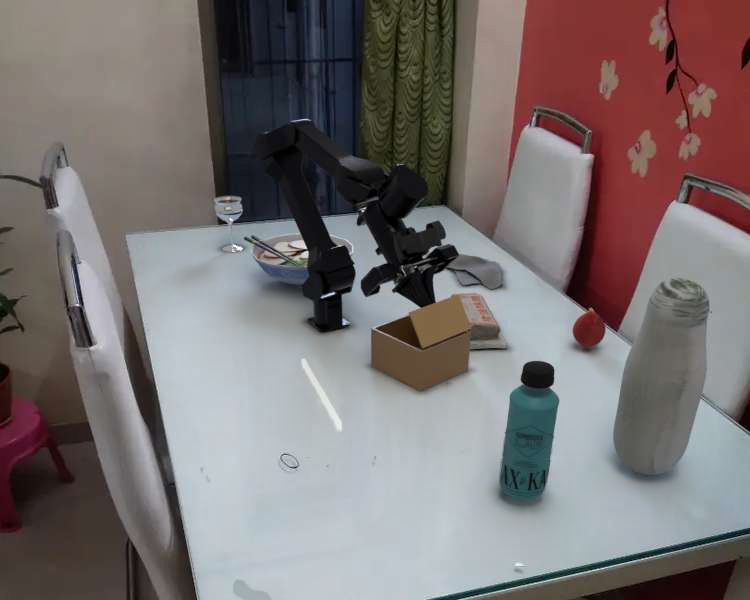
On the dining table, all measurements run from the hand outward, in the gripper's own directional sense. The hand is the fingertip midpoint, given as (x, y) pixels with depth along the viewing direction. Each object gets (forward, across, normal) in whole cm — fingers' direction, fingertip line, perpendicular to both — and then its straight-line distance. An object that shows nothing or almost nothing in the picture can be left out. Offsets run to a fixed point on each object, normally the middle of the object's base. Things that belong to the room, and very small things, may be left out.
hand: (434, 313), depth 132 cm
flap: (+2, 0, 0) cm, 2 cm away
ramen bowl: (-28, +11, +44) cm, 54 cm away
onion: (+17, +29, 0) cm, 34 cm away
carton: (+6, 0, +10) cm, 12 cm away
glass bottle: (+37, +2, -21) cm, 43 cm away
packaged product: (+3, +19, +14) cm, 24 cm away
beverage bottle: (+32, -16, -16) cm, 39 cm away
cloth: (-14, +44, +30) cm, 56 cm away
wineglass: (-49, +11, +65) cm, 82 cm away
